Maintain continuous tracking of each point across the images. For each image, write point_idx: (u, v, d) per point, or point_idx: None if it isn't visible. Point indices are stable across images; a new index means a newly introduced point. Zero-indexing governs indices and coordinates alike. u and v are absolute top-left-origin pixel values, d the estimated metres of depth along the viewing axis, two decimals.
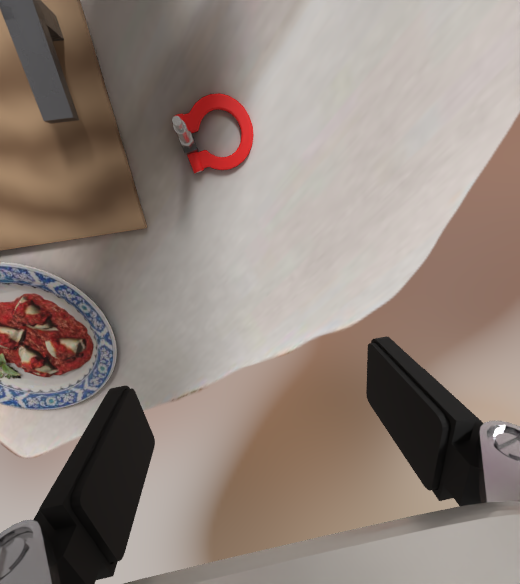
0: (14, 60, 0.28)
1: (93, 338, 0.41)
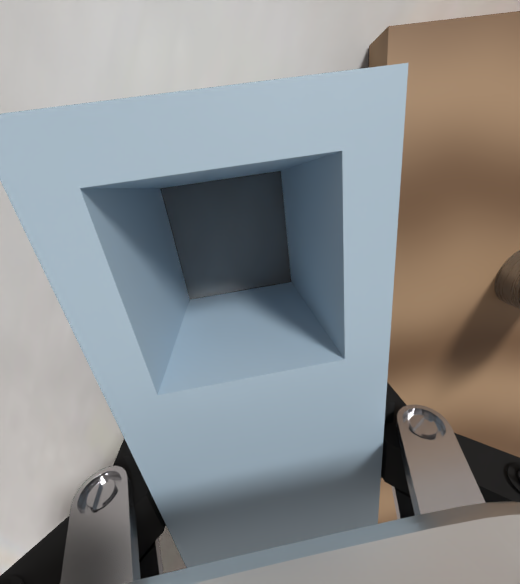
0: None
1: None
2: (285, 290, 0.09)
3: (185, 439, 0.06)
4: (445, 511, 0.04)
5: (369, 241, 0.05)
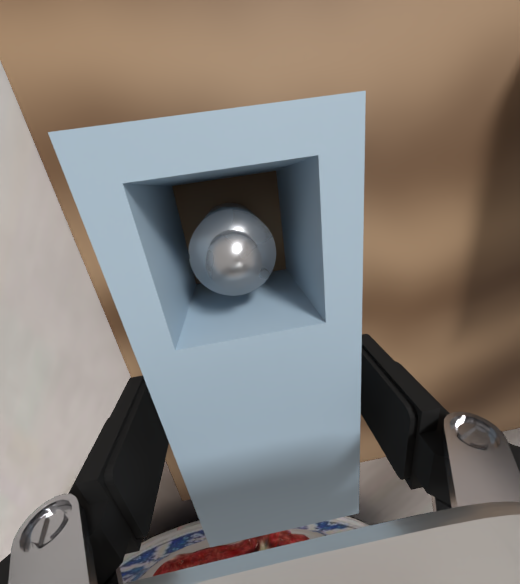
0: (467, 107, 0.10)
1: None
2: (280, 275, 0.11)
3: (196, 389, 0.07)
4: (445, 511, 0.04)
5: (342, 225, 0.06)
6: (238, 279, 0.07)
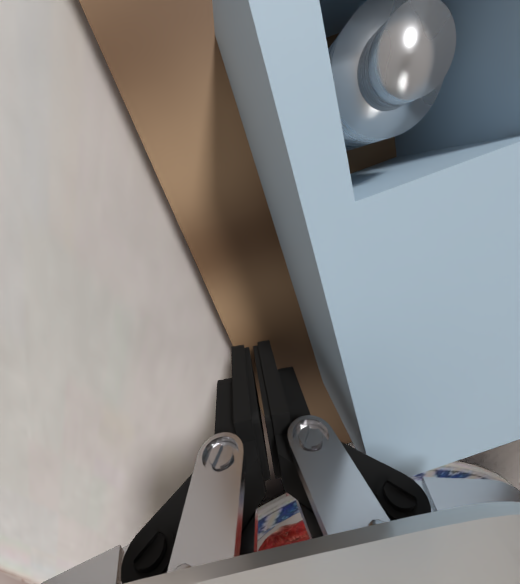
0: None
1: None
2: (398, 158, 0.09)
3: (377, 262, 0.05)
4: (445, 511, 0.04)
5: None
6: (421, 80, 0.05)
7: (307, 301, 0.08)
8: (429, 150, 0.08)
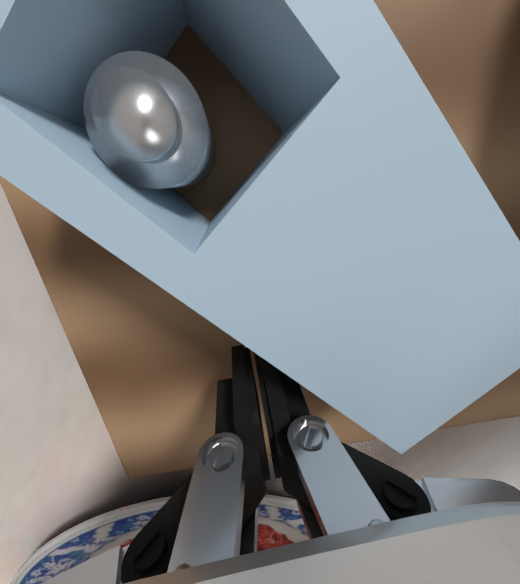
0: (471, 8, 0.08)
1: None
2: (279, 138, 0.08)
3: (251, 286, 0.06)
4: (445, 511, 0.04)
5: None
6: (142, 144, 0.05)
7: None
8: (293, 122, 0.07)
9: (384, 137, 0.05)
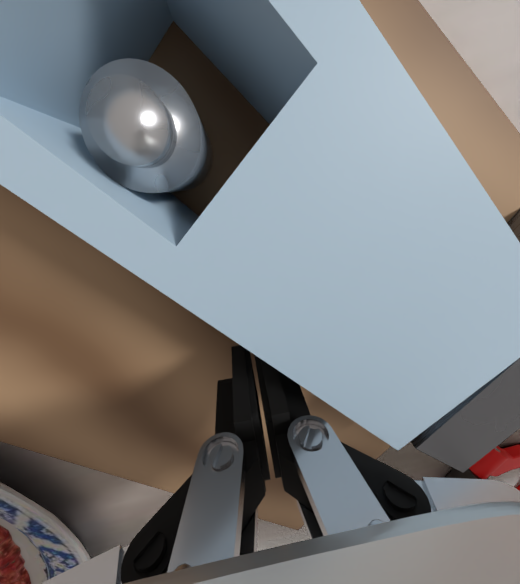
0: None
1: None
2: None
3: (236, 278, 0.06)
4: (445, 511, 0.04)
5: None
6: (119, 146, 0.05)
7: None
8: None
9: (365, 123, 0.05)
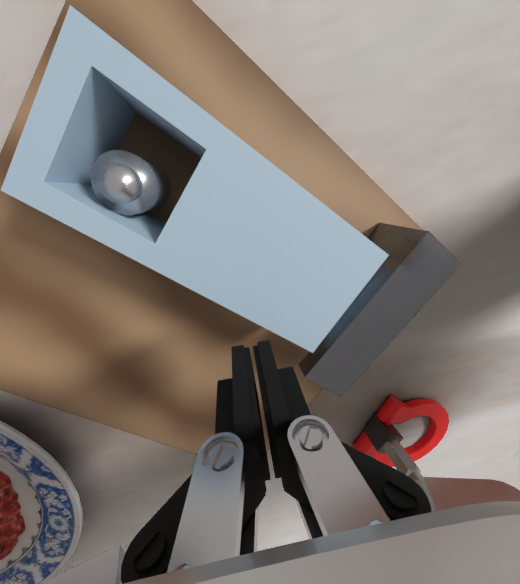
0: None
1: (20, 548, 0.22)
2: None
3: (189, 256, 0.11)
4: (445, 511, 0.04)
5: (145, 85, 0.08)
6: (112, 194, 0.10)
7: None
8: None
9: (236, 171, 0.10)
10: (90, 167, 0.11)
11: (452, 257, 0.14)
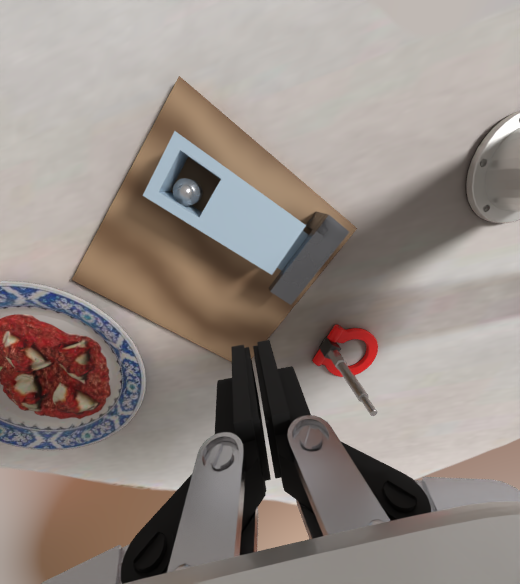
0: None
1: (107, 406, 0.37)
2: None
3: (213, 223, 0.24)
4: (445, 511, 0.04)
5: (198, 155, 0.22)
6: (182, 196, 0.24)
7: None
8: None
9: (233, 187, 0.23)
10: (169, 184, 0.25)
11: (344, 228, 0.27)
